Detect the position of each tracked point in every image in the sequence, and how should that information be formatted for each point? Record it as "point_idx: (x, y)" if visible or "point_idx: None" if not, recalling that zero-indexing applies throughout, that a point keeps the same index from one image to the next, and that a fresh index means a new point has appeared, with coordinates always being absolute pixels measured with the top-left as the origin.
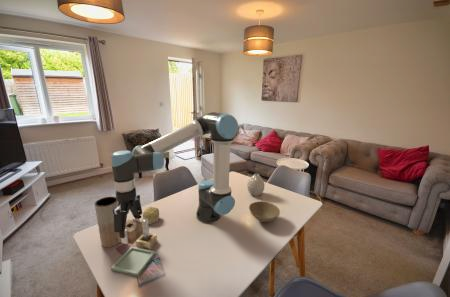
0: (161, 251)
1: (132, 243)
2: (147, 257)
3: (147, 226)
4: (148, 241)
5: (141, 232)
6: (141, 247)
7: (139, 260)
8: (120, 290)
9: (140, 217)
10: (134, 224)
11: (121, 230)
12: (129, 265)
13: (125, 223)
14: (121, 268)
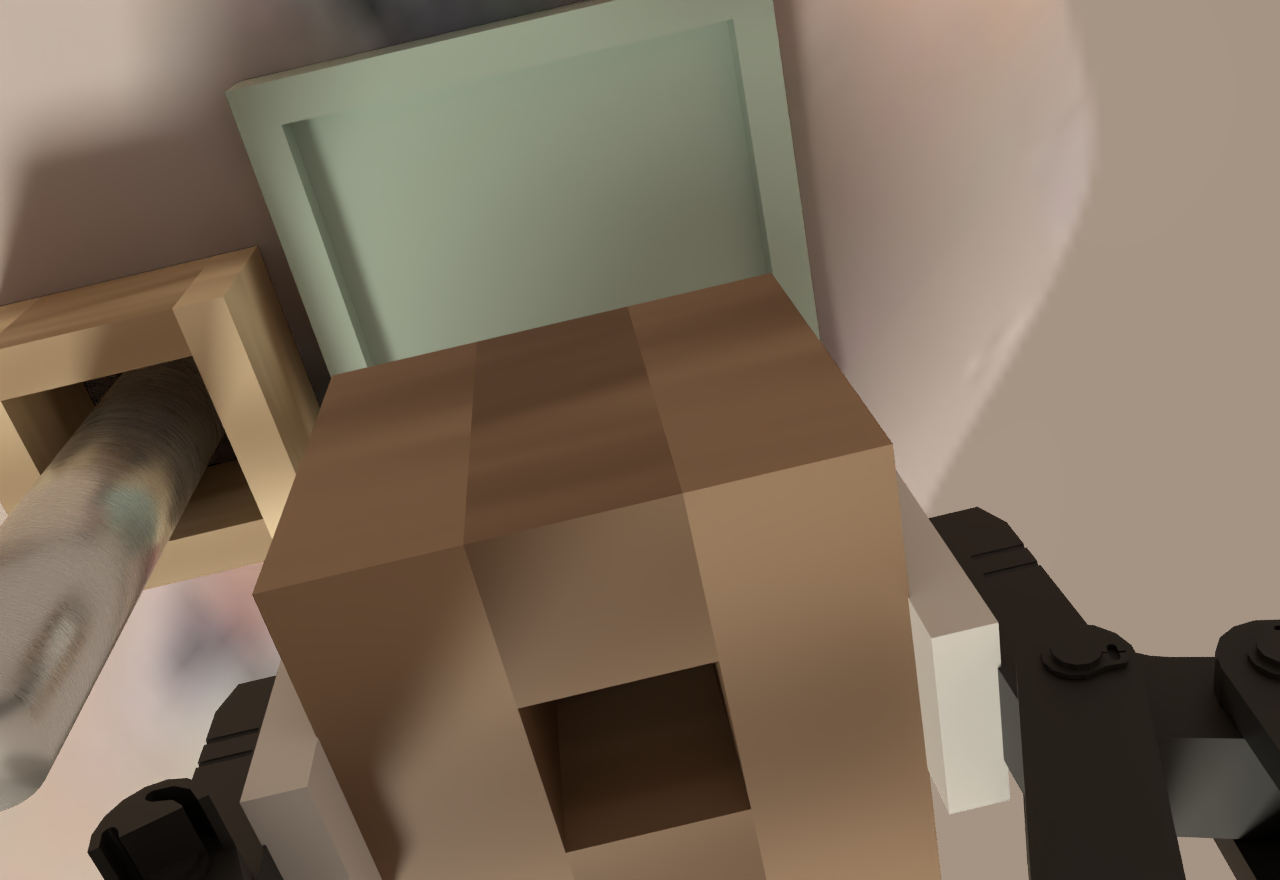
0: (121, 15)
1: (777, 281)
2: (397, 127)
3: (9, 567)
4: (180, 346)
5: (382, 396)
6: (306, 401)
7: (517, 201)
8: (1031, 2)
9: (167, 806)
10: (517, 685)
11: (1240, 671)
12: (669, 258)
13: (1060, 848)
14: (790, 296)
